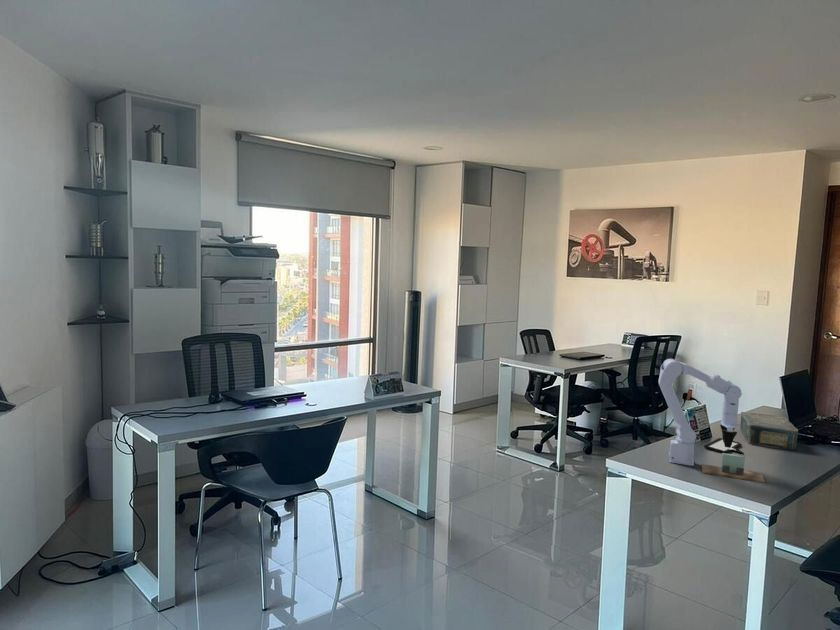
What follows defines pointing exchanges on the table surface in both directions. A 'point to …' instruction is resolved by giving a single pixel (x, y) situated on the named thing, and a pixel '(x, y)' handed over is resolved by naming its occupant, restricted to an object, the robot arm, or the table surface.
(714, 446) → the decorative sign
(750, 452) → the table surface
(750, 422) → the metal box
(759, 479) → the rail
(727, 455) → the door panel
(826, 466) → the table surface
